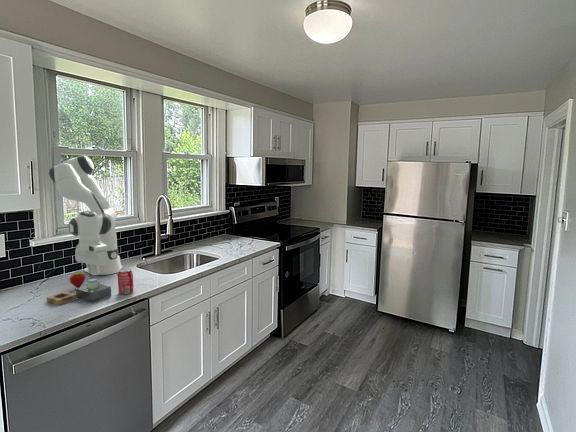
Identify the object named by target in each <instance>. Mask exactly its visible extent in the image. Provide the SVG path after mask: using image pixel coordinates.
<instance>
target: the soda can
mask: <svg viewBox="0 0 576 432" xmlns="http://www.w3.org/2000/svg"><path fill="white" fill-rule="evenodd" d="M117 287H118V288H117V289H118V293H119V294H121V295H129V294H131V293H132V292H134V274H133V271H132V269H131V268H122V269H121V270H119V272H117Z"/></svg>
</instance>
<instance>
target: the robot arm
mask: <svg viewBox="0 0 576 432" xmlns="http://www.w3.org/2000/svg"><path fill="white" fill-rule="evenodd" d="M94 169H95V166H94V162H93V161H92V160H91V159H90V157H88V156H86V155H78V156H77V157H72V158H70V159H66V160H65V161H62V162H61V163H59V164H57V165H53V166H51V168H50V169H49V171H48V176H49V177H50V179H51V181H53V183H54V184H55V185H56V189H57V191H58V193H59V194H60V196H62V197H63V198H65V199H68V200H70V201H76V202H81V203H83V204H85V206H86V207H88V209H89V211H88V210H86V211H85V210H83V211H81V212H79V213H78V216H76V217H73V218H72V219H70V221H69V222H68V232H69V233H70V234H71V235H73V236H75V237H79V238H78V244H76V248H75V255H74V257H75V258H74V259H75V261H76V262H77V263H81V264H82V263H83V264H85V266H86V268H84V269H83V272H86V273H88V274H89V275H93V276H105V275H112V274H116V273H117V274H118V273H119V270H121V269H124V268H123V265H122V263H121V257H120V255H119V248H118V238H117V230H116V221H117V219H118V218H117V217H118V216H117V212H116V211H115V209H114V208H113V206H112V205H111V203H110V202H109V200H108V199H107V197H106V196H105V195H104V193H103V191H102V189H101V187H100V185H99V184H98V182H97V181H96V179H95V178H94V176H93V172H94Z"/></svg>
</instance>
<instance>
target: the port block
mask: <svg viewBox="0 0 576 432" xmlns="http://www.w3.org/2000/svg"><path fill="white" fill-rule="evenodd" d="M75 294H76V300H77V299H78V300H81V301H84V302H85V303H86V302H87V303H90V304H93V303H97V302H99V301H102V300H104V299H107V298H110V297H112V287H111V285H110V286H109V285H106V284H101V283H99V282H98V288H96V289H93V290H90V289H88V284H86V285H84V286H83V285H82V286H81V287H79V288H77V287H75Z"/></svg>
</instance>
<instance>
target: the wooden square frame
mask: <svg viewBox="0 0 576 432" xmlns="http://www.w3.org/2000/svg"><path fill="white" fill-rule="evenodd" d="M73 301H77V298H76V293H73V292H69V291H66V290H65V291H62V292H59V293H56V294H53V295H49V296H46V303H49V304H51V305H55V306H61V305H65V304H67V303H70V302H73Z"/></svg>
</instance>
